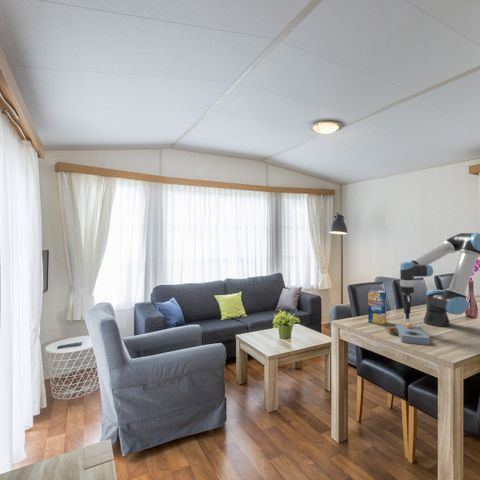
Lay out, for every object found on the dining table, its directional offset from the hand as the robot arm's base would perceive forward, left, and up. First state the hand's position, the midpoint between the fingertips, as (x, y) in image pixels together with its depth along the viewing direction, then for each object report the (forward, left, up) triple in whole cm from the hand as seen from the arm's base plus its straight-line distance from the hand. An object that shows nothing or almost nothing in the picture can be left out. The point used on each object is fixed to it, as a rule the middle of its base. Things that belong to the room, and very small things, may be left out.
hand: (406, 323), depth 192 cm
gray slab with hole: (0, +12, -5) cm, 13 cm away
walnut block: (+10, +8, -5) cm, 14 cm away
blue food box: (+16, -16, -5) cm, 23 cm away
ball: (0, +6, 0) cm, 6 cm away
